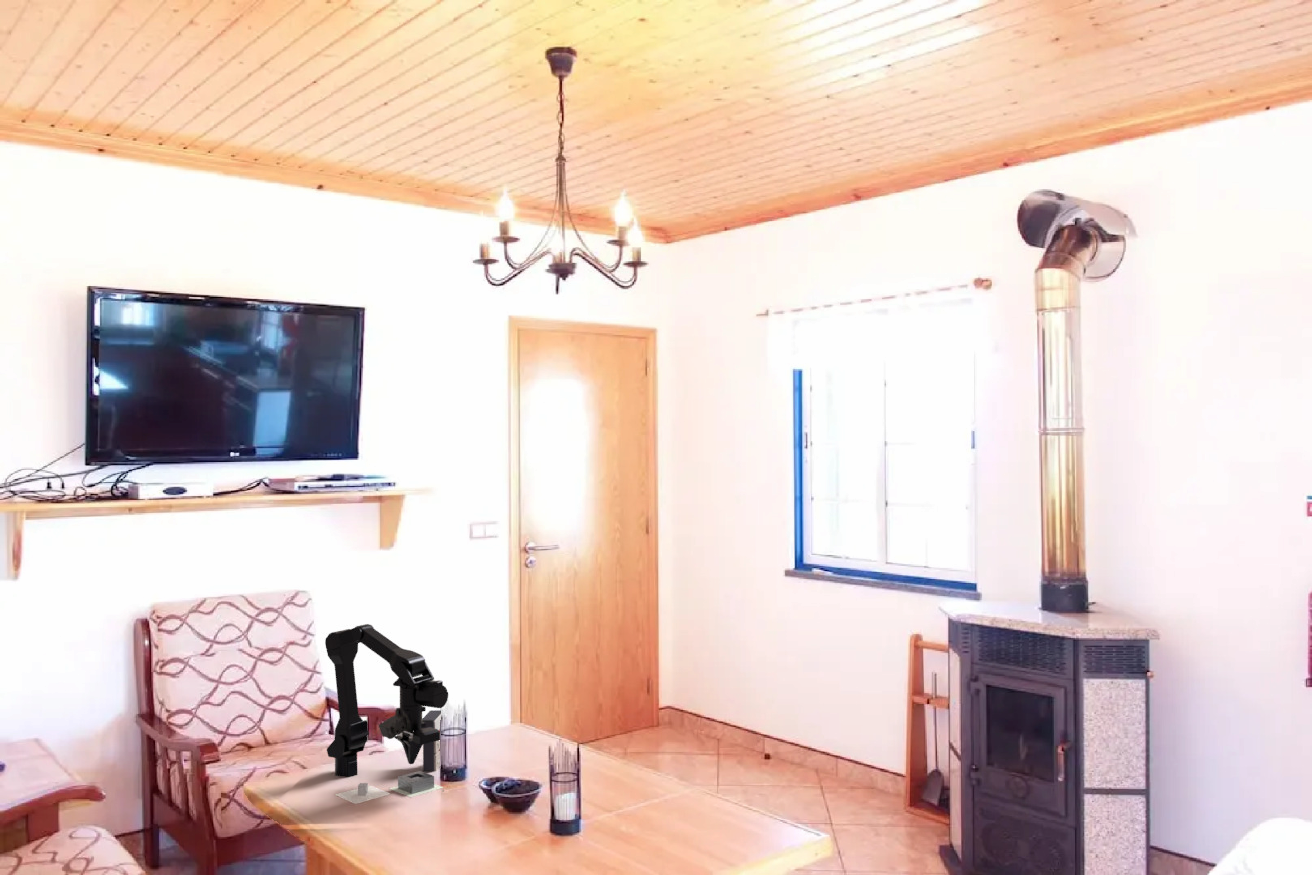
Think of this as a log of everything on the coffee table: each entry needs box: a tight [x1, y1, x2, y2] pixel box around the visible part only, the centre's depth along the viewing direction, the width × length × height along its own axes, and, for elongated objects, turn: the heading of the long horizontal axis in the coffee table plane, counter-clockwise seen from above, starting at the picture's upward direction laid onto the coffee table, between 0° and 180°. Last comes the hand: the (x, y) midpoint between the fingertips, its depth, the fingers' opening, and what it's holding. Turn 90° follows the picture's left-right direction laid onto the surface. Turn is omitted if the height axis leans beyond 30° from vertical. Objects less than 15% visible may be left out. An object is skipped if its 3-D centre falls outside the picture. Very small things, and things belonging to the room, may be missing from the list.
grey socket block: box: [397, 770, 435, 794], centre depth 263 cm, size 7×7×3 cm
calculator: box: [421, 709, 441, 773], centre depth 282 cm, size 11×4×15 cm, turn 179°
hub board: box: [388, 777, 445, 798], centre depth 263 cm, size 10×10×4 cm
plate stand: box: [335, 782, 391, 805], centre depth 258 cm, size 10×10×4 cm
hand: (411, 763), depth 265 cm, fingers closed
